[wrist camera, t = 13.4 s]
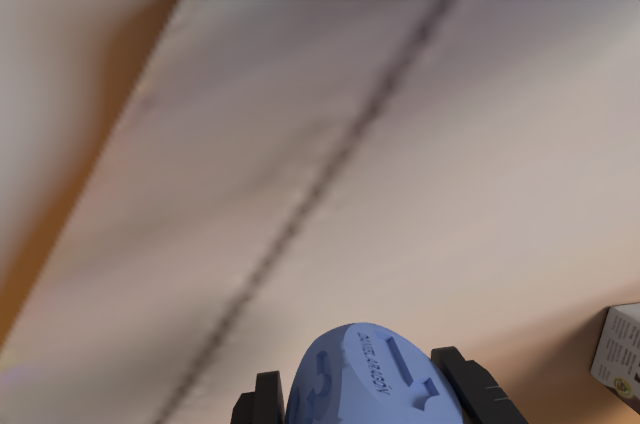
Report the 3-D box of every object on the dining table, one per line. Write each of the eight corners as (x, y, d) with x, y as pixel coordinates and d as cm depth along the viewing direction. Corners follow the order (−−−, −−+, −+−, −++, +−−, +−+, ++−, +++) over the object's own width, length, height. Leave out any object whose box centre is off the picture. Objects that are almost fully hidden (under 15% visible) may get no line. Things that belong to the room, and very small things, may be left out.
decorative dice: (426, 341, 11) (496, 456, 8) (373, 417, 12) (412, 553, 9) (331, 305, 10) (357, 417, 7) (281, 391, 11) (280, 531, 8)
